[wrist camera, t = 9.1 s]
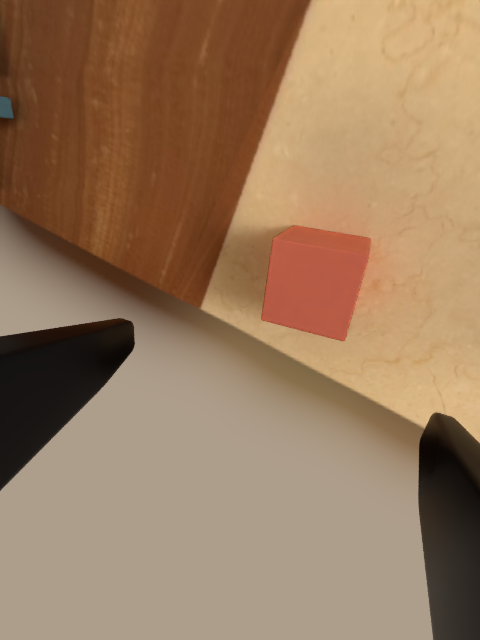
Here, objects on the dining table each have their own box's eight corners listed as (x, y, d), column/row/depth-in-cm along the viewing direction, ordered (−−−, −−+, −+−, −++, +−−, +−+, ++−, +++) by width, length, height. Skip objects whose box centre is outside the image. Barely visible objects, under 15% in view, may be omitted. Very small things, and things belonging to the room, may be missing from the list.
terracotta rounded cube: (351, 310, 20) (344, 342, 16) (281, 294, 21) (260, 320, 17) (371, 238, 18) (369, 255, 14) (293, 225, 19) (272, 237, 15)
